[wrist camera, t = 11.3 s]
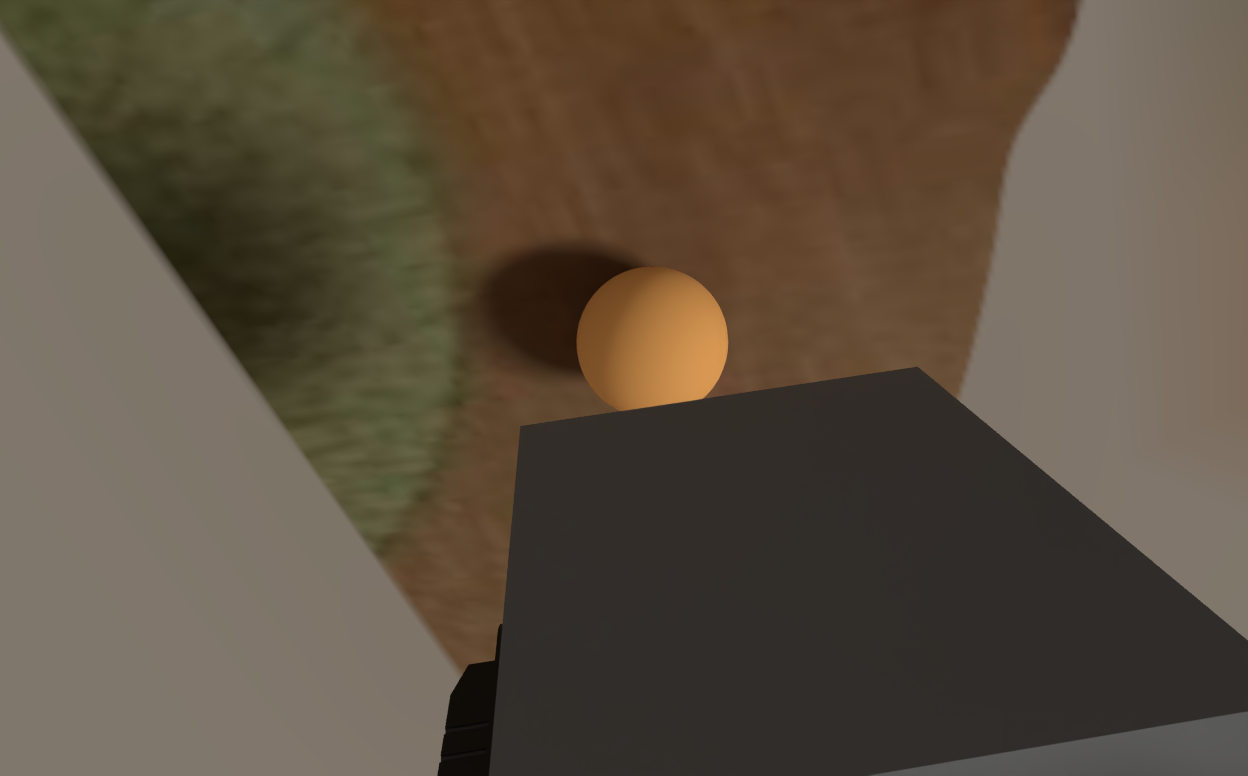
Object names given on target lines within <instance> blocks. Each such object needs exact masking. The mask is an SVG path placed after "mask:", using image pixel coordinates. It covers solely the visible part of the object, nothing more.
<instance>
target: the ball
mask: <svg viewBox="0 0 1248 776" xmlns="http://www.w3.org/2000/svg"><path fill="white" fill-rule="evenodd" d="M727 351H728V335H727V327H726V323H725V319H724V317H723V314H722V312H721V309H720V307H719V306H718V304H717V302H716V300H715V299H714V298H713V296H712V295H711V294H710V292H709V291H708V290H707V289H706V288H705V287H703V286H702V285H701V284H700V283H699V282H698V281H696V280H695V279H693V278H692V277H690V276H688V275H686V274H684V273H682V272H679V271H677V270H673V269H669V268H664V267H654V266H652V267H641V268H635V269H632V270H628V271H625V272H623V273H621V274H619V275H617V276H615V277H613V278H612V279H610V280H609V281H607V282H606V283H605V284H604V285H602V286H601V287H600V288H599V289H598V290H597V291H596V292H595V294H594V295H593V296H592V298H591V299H590V300H589V302H588V303H587V305H586V307H585V309H584V311H583V313H582V316H581V319H580V322H579V326H578V331H577V354H578V359H579V363H580V366H581V369H582V372H583V374H584V376H585V378H586V380H587V382H588V383H589V384H590V386H591V387H592V389H593V390H594V391H595V393H596V394H597V395H598V396H599V397H600V398H601V399H602V400H604V401H605V402H606V403H607V404H609V405H611V406H612V407H614V408H615V409H617V410H619V411H625V410H632V409H639V408H645V407H652V406H659V405H665V404H672V403H679V402H685V401H692V400H699V399H703V398H704V397H705V396H706V395H707V394H708V393H709V392H710V391H711V389H712V388H713V387H714V385H715V384H716V382H717V381H718V379H719V377H720V375H721V373H722V371H723V368H724V364H725V361H726V357H727Z"/></svg>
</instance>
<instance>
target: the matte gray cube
mask: <svg viewBox="0 0 1248 776" xmlns="http://www.w3.org/2000/svg"><path fill="white" fill-rule="evenodd" d="M489 776H1248V640H1246V639H1245V638H1244V637H1243V636H1242V635H1240V634H1239V633H1238V632H1237V631H1236V630H1235V629H1233V628H1232V627H1231V626H1230V625H1229V624H1227V623H1226V622H1225V621H1224V620H1222V619H1221V618H1220V617H1219V616H1218V615H1216V614H1215V613H1214V612H1213V611H1211V610H1210V609H1209V608H1208V607H1207V606H1206V605H1204V604H1203V603H1202V602H1201V601H1200V600H1198V599H1197V598H1196V597H1195V596H1194V595H1192V594H1191V593H1190V592H1189V591H1187V590H1186V589H1185V588H1184V587H1183V586H1181V585H1180V584H1179V583H1178V582H1177V581H1175V580H1174V579H1173V578H1172V577H1170V576H1169V575H1168V574H1167V573H1166V572H1165V571H1163V570H1162V569H1161V568H1160V567H1158V566H1157V565H1156V564H1155V563H1153V561H1151V560H1150V559H1149V558H1148V557H1146V556H1145V555H1144V554H1143V553H1142V552H1140V551H1139V550H1138V549H1137V548H1136V547H1134V546H1133V545H1132V544H1131V543H1130V542H1128V541H1127V540H1126V539H1125V538H1124V537H1122V536H1121V535H1120V534H1119V533H1117V532H1116V531H1115V530H1114V529H1113V528H1111V527H1110V526H1109V525H1108V524H1107V523H1105V522H1104V521H1103V520H1102V519H1101V518H1099V517H1098V516H1097V515H1096V514H1095V513H1093V512H1092V511H1091V510H1090V509H1088V508H1087V507H1086V506H1085V505H1084V504H1082V503H1081V502H1080V501H1079V500H1078V499H1076V498H1075V497H1074V496H1073V495H1072V494H1070V493H1069V492H1068V491H1067V490H1066V489H1064V488H1063V487H1062V486H1061V485H1060V484H1058V483H1057V482H1056V481H1055V480H1054V479H1052V478H1051V477H1050V476H1049V475H1048V474H1046V473H1045V472H1044V471H1043V470H1042V469H1040V468H1039V467H1038V466H1037V465H1035V464H1034V463H1033V462H1032V461H1031V460H1029V459H1028V458H1027V457H1026V456H1024V455H1023V454H1022V453H1021V452H1020V451H1019V450H1017V449H1016V448H1015V447H1014V446H1012V445H1011V444H1010V443H1009V442H1008V441H1006V440H1005V439H1004V438H1003V437H1002V436H1000V435H999V434H998V433H997V432H996V431H994V430H993V429H992V428H991V427H990V426H988V425H987V424H986V423H985V422H984V421H982V420H981V419H980V418H979V417H978V416H976V415H975V414H974V413H973V412H972V411H970V410H969V409H968V408H967V407H966V406H964V405H963V404H962V403H961V402H959V401H958V400H957V399H956V398H955V397H953V396H952V395H951V394H950V393H949V392H947V391H946V390H945V389H944V388H943V387H941V386H940V385H939V384H938V383H937V382H935V381H934V380H933V379H932V378H931V377H929V376H928V375H927V374H926V373H924V372H923V371H922V370H921V369H920V368H918V367H913V368H906V369H899V370H893V371H886V372H879V373H873V374H866V375H859V376H853V377H846V378H839V379H833V380H826V381H819V382H813V383H806V384H799V385H792V386H786V387H779V388H772V389H766V390H759V391H752V392H746V393H739V394H732V395H726V396H719V397H712V398H706V399H699V400H692V401H685V402H679V403H672V404H665V405H659V406H652V407H645V408H639V409H632V410H625V411H619V412H612V413H605V414H599V415H592V416H585V417H578V418H572V419H565V420H558V421H552V422H545V423H538V424H532V425H525V426H520V438H519V449H518V460H517V471H516V482H515V493H514V504H513V515H512V526H511V537H510V548H509V559H508V570H507V582H506V593H505V604H504V615H503V626H502V637H501V648H500V659H499V670H498V681H497V692H496V703H495V714H494V726H493V737H492V748H491V759H490V770H489Z"/></svg>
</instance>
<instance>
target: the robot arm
mask: <svg viewBox="0 0 1248 776" xmlns="http://www.w3.org/2000/svg"><path fill="white" fill-rule="evenodd" d="M502 626H503V624H500V625H499V628H498V635H497V645H496V656H495V661H489V662H483V663H476V664H470V665H468V667H467V668H466V670H465V672H464V673H463V675H462V677H461V678H460V680H459V682H458V683H457V685H456V687H455V689H454V690H453V692H452V693H451V695H450V702H449V708H448V714H447V720H446V726H445V730H446V734H445V735H444V738H443V744H442V750H441V762H440V763H439V770H438V776H489V770H490V759H491V748H492V737H493V726H494V714H495V703H496V692H497V681H498V670H499V659H500V648H501V637H502Z"/></svg>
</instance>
